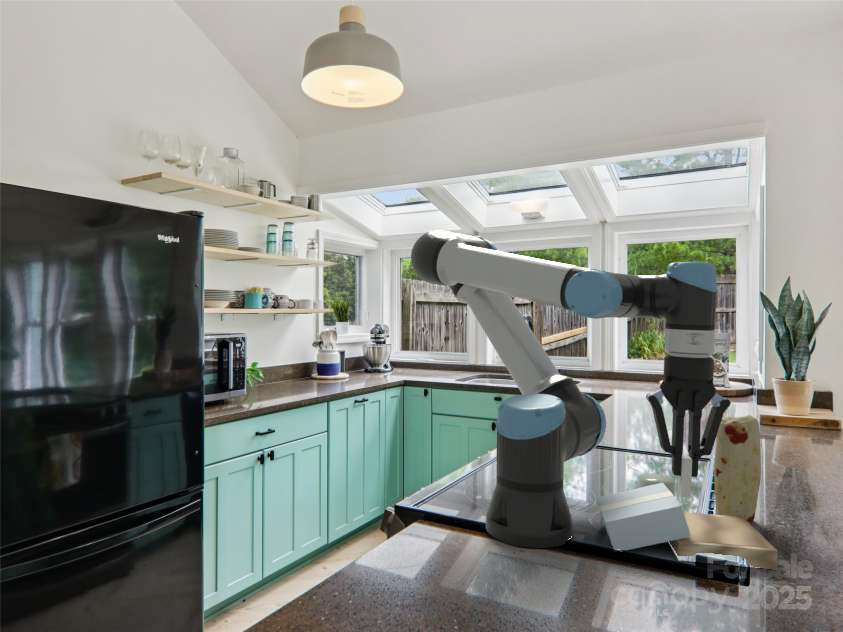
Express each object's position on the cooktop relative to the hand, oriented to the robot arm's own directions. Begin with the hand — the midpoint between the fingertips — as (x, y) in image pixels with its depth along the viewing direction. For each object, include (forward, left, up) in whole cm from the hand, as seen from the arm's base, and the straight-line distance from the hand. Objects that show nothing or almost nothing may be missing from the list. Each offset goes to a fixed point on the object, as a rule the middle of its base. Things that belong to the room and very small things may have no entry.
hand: (683, 494), depth 93 cm
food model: (+12, +13, -9) cm, 20 cm away
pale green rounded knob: (-2, +13, -8) cm, 15 cm away
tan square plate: (+4, 0, -8) cm, 9 cm away
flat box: (-6, 0, -6) cm, 9 cm away
